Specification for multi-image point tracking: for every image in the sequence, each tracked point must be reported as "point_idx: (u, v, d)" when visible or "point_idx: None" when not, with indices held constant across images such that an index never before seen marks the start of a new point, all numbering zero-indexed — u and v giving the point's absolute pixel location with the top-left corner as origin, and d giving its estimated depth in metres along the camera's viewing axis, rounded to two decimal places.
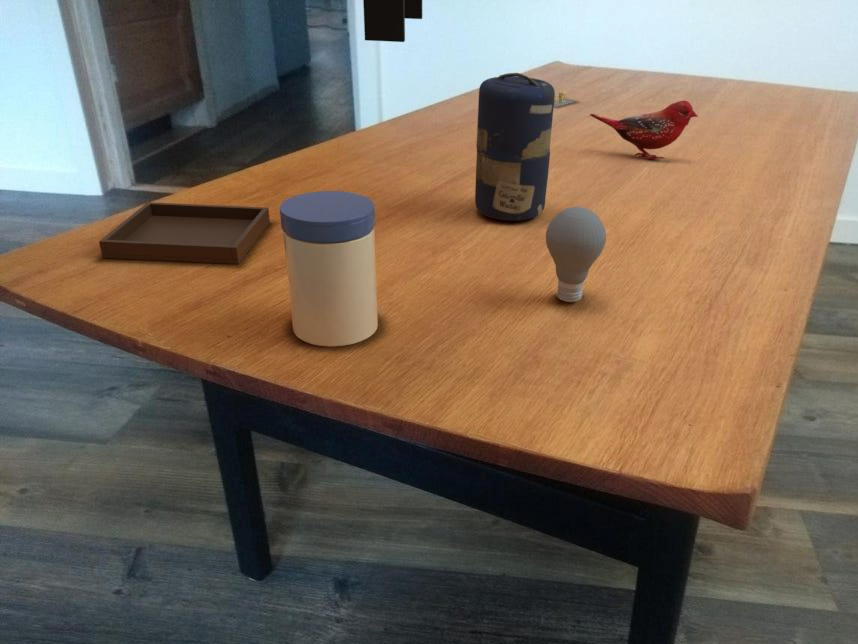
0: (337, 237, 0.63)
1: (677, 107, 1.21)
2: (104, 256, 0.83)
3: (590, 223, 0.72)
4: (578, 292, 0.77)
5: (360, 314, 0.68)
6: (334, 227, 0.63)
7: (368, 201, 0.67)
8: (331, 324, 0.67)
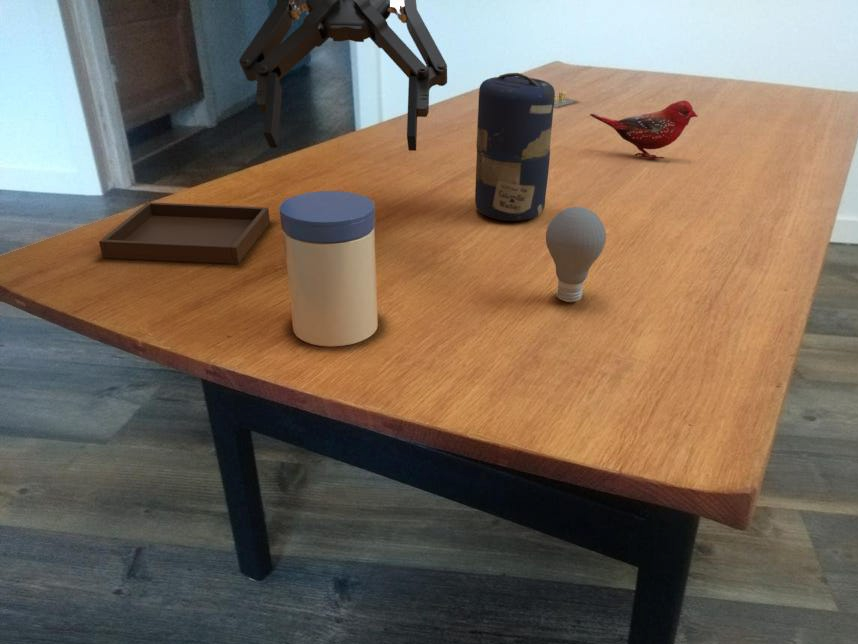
0: (337, 237, 0.63)
1: (677, 107, 1.21)
2: (104, 256, 0.83)
3: (590, 223, 0.72)
4: (578, 292, 0.77)
5: (360, 314, 0.68)
6: (334, 227, 0.63)
7: (368, 201, 0.67)
8: (331, 324, 0.67)
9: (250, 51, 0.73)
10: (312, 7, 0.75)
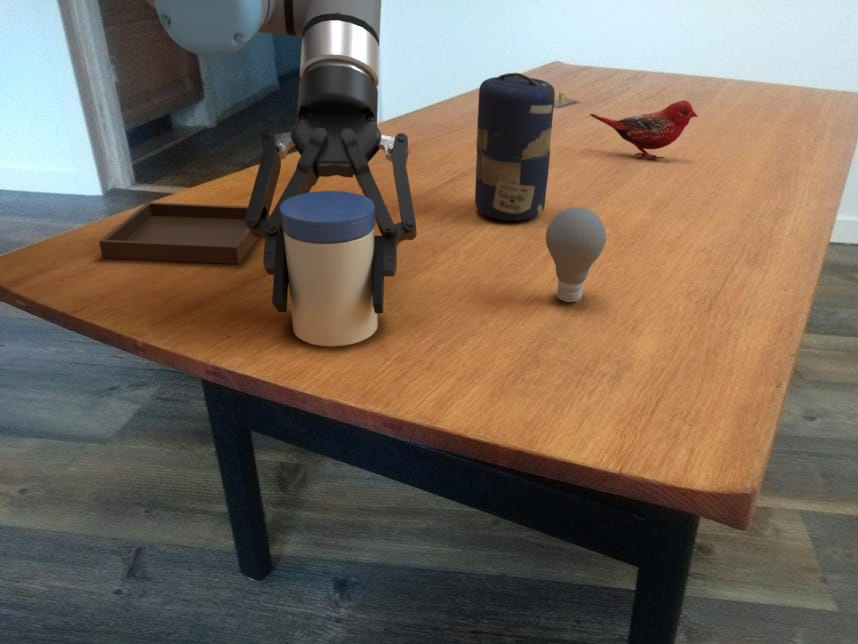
0: (336, 237, 0.63)
1: (677, 107, 1.21)
2: (104, 256, 0.83)
3: (590, 223, 0.72)
4: (578, 292, 0.77)
5: (360, 314, 0.68)
6: (334, 227, 0.63)
7: (368, 201, 0.67)
8: (331, 324, 0.67)
9: (253, 208, 0.68)
10: (301, 143, 0.70)
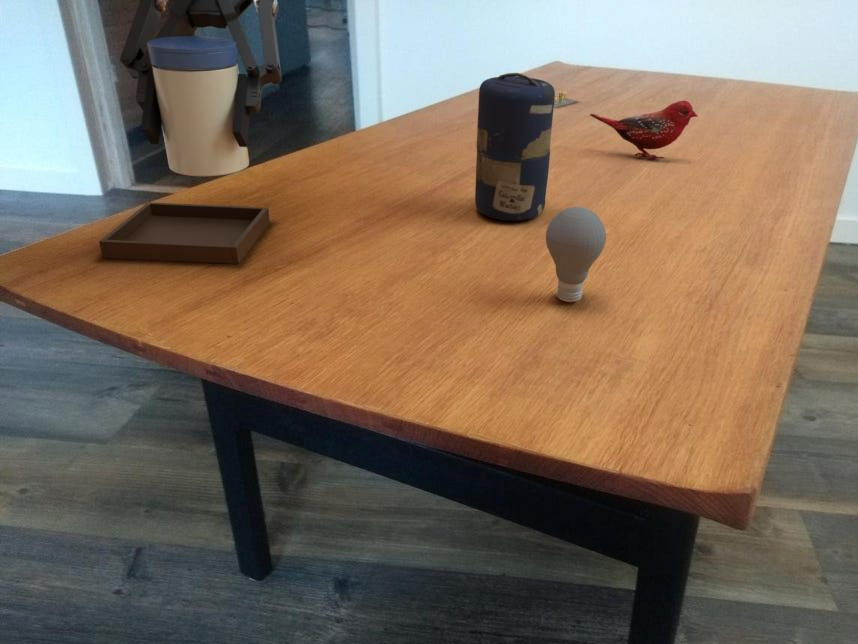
0: (194, 64, 0.70)
1: (677, 107, 1.21)
2: (104, 256, 0.83)
3: (590, 223, 0.72)
4: (578, 292, 0.77)
5: (225, 146, 0.75)
6: (191, 55, 0.69)
7: (231, 41, 0.74)
8: (197, 153, 0.74)
9: (128, 48, 0.74)
10: None
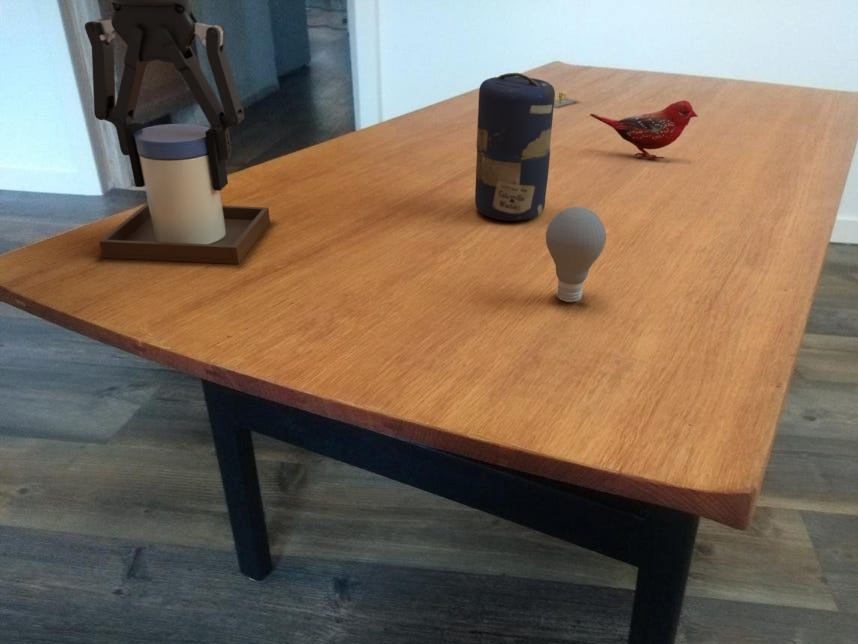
0: (176, 155, 0.80)
1: (677, 107, 1.21)
2: (104, 256, 0.83)
3: (590, 223, 0.72)
4: (578, 292, 0.77)
5: (204, 221, 0.85)
6: (173, 147, 0.80)
7: None
8: (179, 228, 0.84)
9: (98, 103, 0.80)
10: (123, 36, 0.77)
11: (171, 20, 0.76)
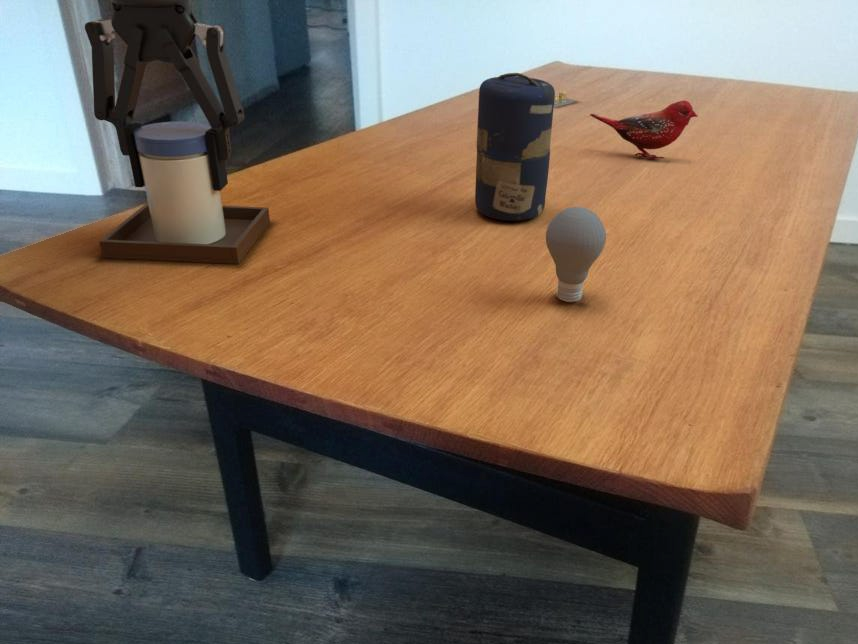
0: None
1: (677, 107, 1.21)
2: (104, 256, 0.83)
3: (590, 223, 0.72)
4: (578, 292, 0.77)
5: (204, 221, 0.85)
6: None
7: (168, 122, 0.85)
8: (179, 228, 0.84)
9: (98, 103, 0.80)
10: (123, 36, 0.77)
11: (171, 20, 0.76)
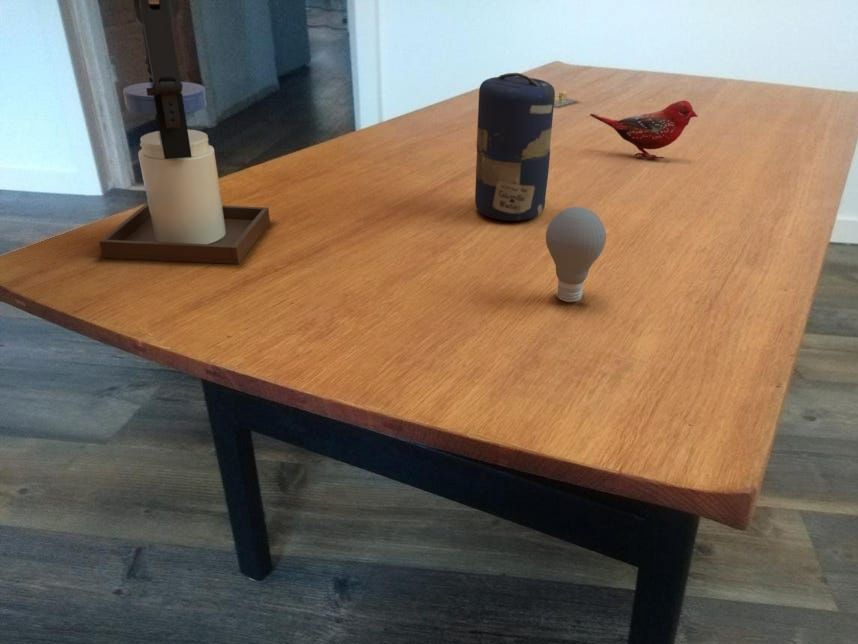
0: None
1: (677, 107, 1.21)
2: (104, 256, 0.83)
3: (590, 223, 0.72)
4: (578, 292, 0.77)
5: (204, 221, 0.85)
6: None
7: (132, 93, 0.78)
8: (179, 228, 0.84)
9: None
10: None
11: None
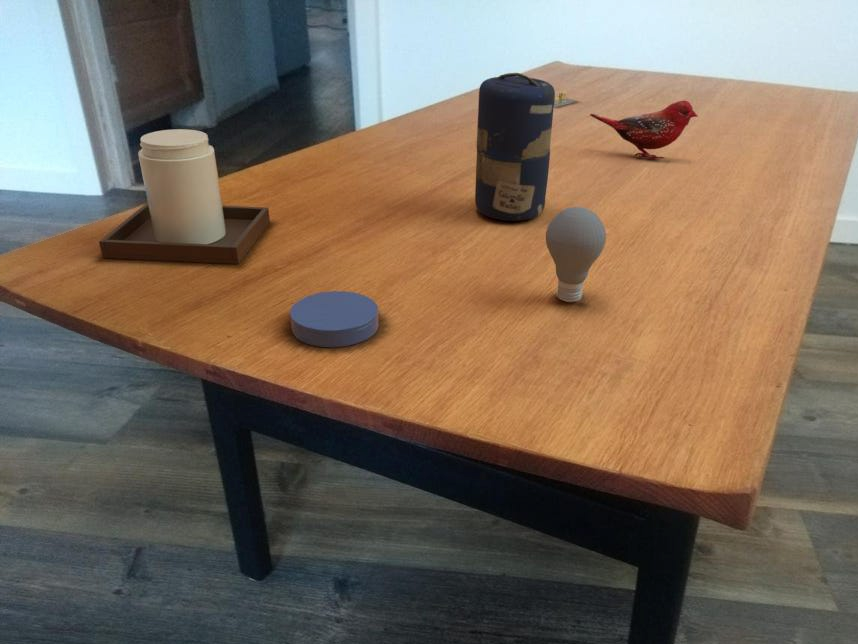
0: (292, 328, 0.70)
1: (677, 107, 1.21)
2: (104, 256, 0.83)
3: (590, 223, 0.72)
4: (578, 292, 0.77)
5: (204, 221, 0.85)
6: None
7: (347, 326, 0.68)
8: (179, 228, 0.84)
9: None
10: None
11: None
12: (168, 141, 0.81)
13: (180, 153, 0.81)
